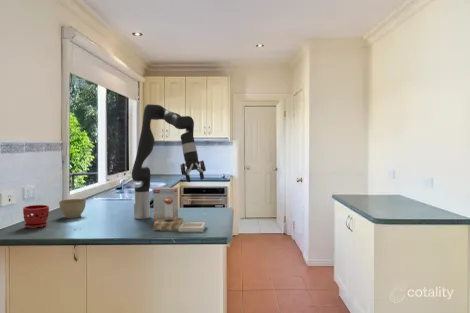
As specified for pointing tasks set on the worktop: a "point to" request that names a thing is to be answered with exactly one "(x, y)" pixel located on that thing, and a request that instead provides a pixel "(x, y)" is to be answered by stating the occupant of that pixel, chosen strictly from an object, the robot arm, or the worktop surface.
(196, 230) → the tray
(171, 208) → the pin
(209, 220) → the worktop surface
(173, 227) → the socket block
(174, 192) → the cracker box
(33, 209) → the plant pot
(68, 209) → the planter bowl
